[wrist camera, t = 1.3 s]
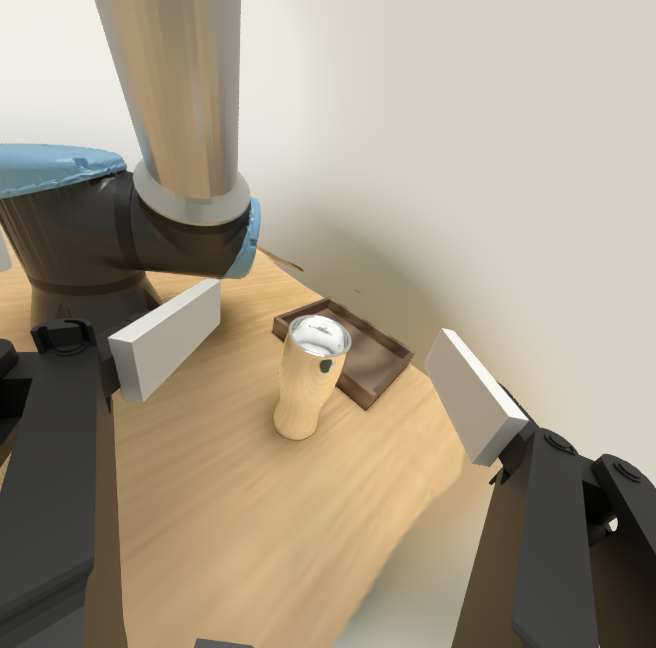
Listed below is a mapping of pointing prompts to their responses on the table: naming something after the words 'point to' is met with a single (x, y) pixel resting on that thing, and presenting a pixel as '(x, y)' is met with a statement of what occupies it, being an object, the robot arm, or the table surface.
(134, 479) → the table surface
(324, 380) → the beer glass
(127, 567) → the table surface
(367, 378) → the walnut tray
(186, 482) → the table surface
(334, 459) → the table surface
